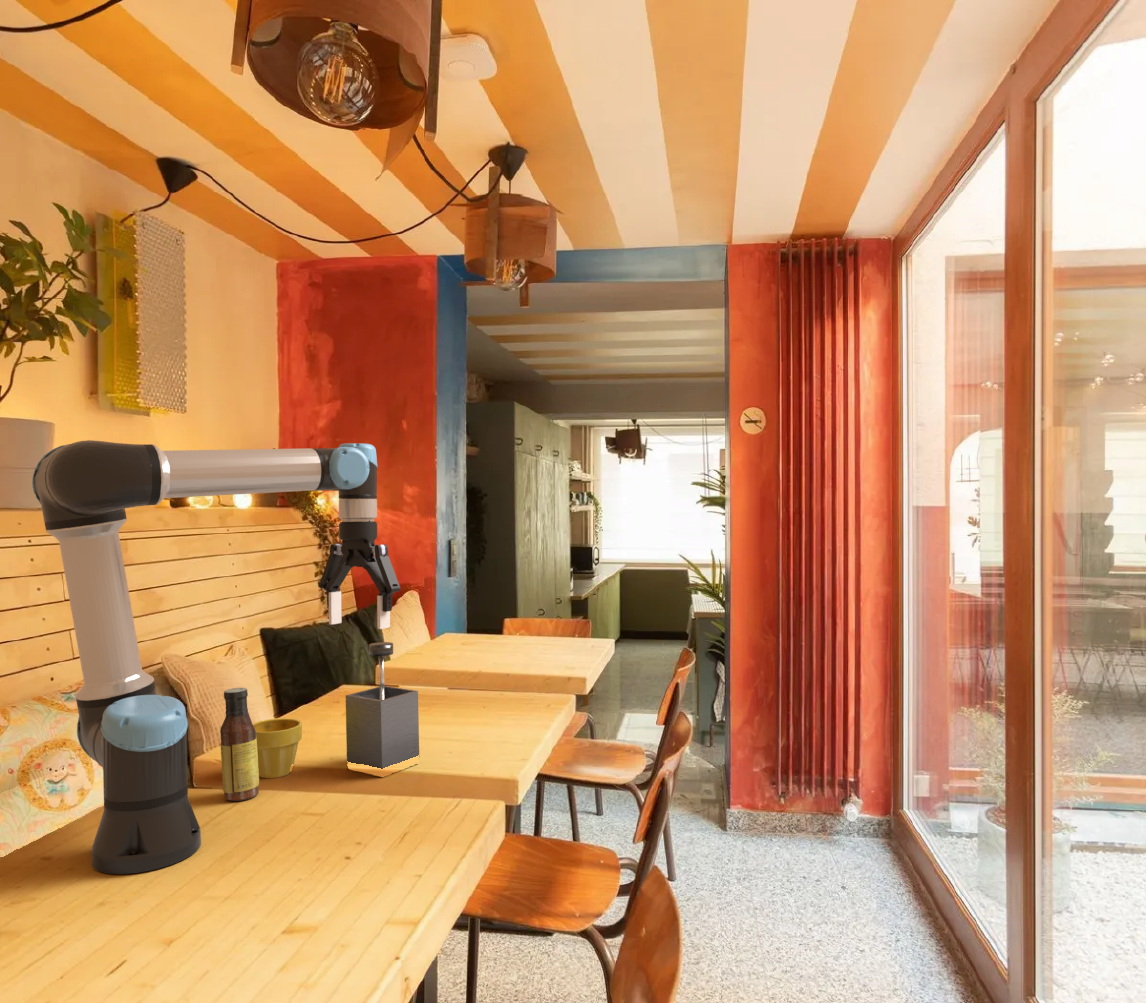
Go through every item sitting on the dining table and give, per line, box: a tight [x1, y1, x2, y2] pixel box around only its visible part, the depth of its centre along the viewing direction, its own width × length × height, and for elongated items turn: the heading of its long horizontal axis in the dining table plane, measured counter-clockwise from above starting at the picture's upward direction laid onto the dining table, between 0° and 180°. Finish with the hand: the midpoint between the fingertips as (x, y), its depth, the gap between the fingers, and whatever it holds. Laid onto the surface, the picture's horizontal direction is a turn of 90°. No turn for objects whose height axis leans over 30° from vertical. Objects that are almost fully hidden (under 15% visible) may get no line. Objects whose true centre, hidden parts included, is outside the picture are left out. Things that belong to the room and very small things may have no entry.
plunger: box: [368, 641, 394, 700], centre depth 170 cm, size 8×8×13 cm
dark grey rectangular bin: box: [345, 685, 420, 769], centre depth 171 cm, size 14×10×15 cm
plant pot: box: [252, 717, 303, 779], centre depth 167 cm, size 10×10×10 cm
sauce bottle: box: [219, 687, 260, 802], centre depth 154 cm, size 7×6×20 cm
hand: (359, 626), depth 168 cm, fingers open, 13 cm apart
